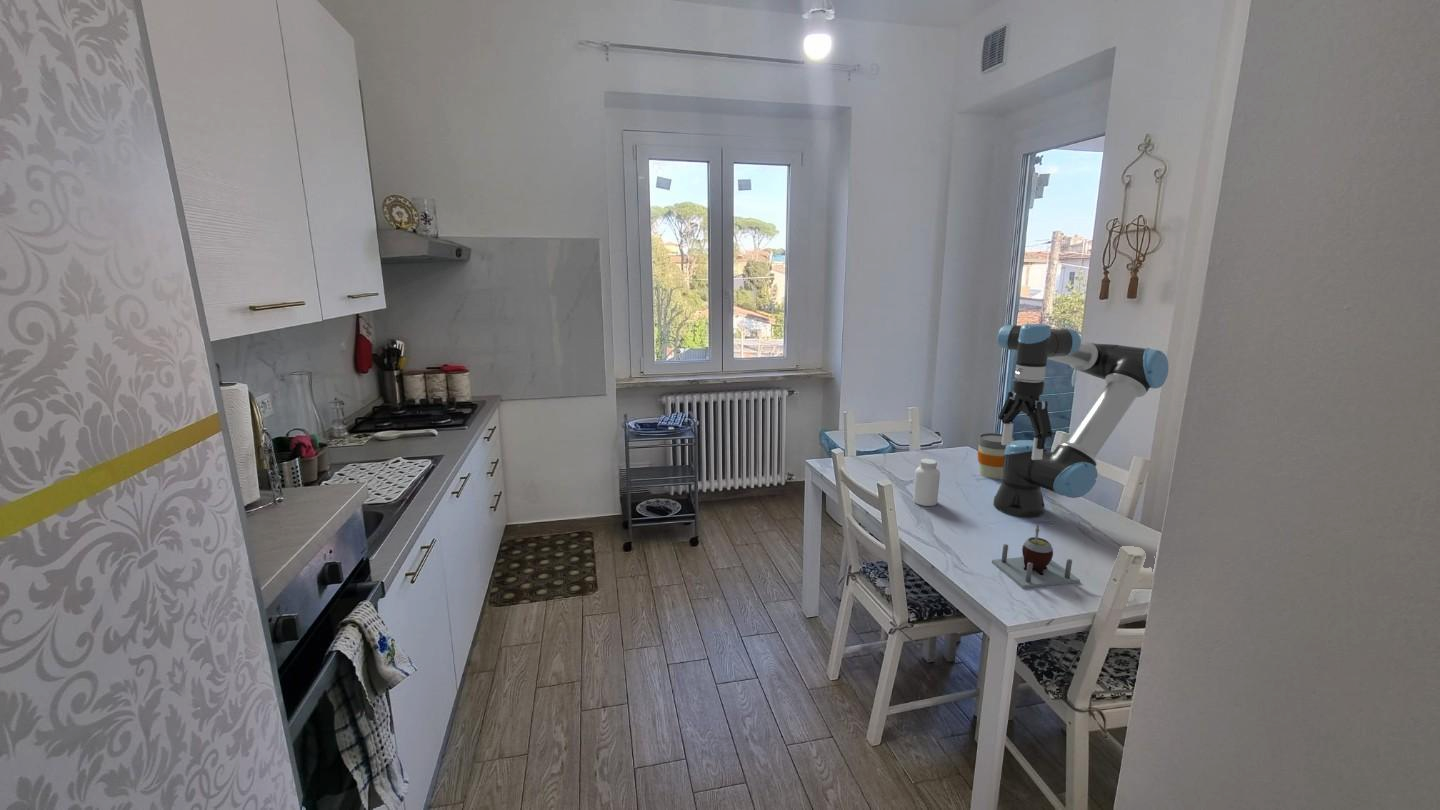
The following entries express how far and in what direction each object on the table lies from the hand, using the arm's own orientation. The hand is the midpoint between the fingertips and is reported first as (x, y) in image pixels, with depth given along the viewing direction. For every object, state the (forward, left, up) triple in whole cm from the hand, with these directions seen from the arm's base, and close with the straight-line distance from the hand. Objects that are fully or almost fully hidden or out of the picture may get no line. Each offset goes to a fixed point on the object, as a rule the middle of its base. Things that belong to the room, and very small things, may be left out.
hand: (1020, 451), depth 166 cm
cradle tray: (+7, +20, -27) cm, 34 cm away
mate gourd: (+7, +20, -26) cm, 34 cm away
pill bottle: (+13, -28, -27) cm, 41 cm away
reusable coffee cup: (-25, -48, -27) cm, 60 cm away
